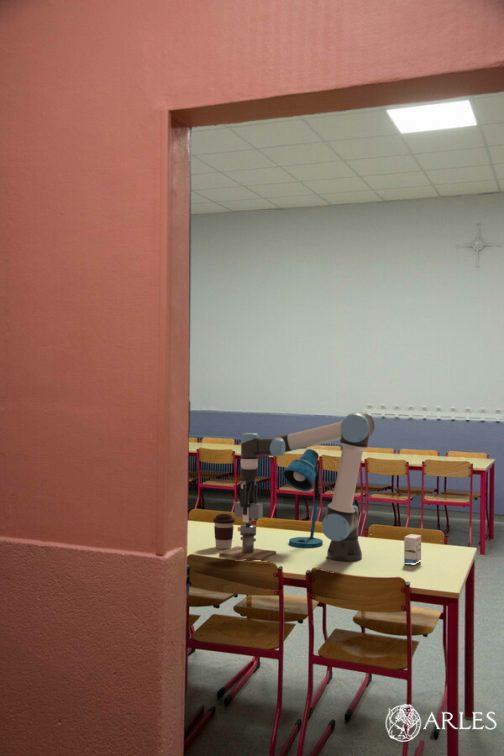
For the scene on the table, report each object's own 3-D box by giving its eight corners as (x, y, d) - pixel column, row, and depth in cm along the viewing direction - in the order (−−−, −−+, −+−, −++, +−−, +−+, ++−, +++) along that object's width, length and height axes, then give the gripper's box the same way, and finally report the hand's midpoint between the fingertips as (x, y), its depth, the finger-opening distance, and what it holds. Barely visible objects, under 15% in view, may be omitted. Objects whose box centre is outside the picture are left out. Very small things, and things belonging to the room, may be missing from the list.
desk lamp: (275, 545, 348) (276, 449, 349) (303, 538, 365) (304, 447, 365) (302, 551, 338) (304, 452, 338) (330, 543, 355) (331, 449, 355)
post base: (276, 554, 330) (276, 534, 330) (259, 562, 316) (260, 541, 316) (236, 549, 340) (237, 529, 340) (219, 556, 325) (219, 536, 326)
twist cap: (263, 534, 328) (264, 503, 328) (256, 537, 322) (257, 505, 322) (240, 531, 334) (240, 501, 334) (232, 534, 328) (232, 503, 328)
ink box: (414, 566, 313) (415, 538, 313) (403, 564, 315) (403, 536, 316) (421, 562, 320) (421, 534, 320) (410, 560, 323) (410, 533, 323)
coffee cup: (231, 550, 337) (232, 517, 337) (210, 549, 339) (210, 516, 339) (236, 545, 347) (236, 513, 347) (215, 544, 349) (216, 512, 349)
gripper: (250, 465, 337) (250, 517, 337) (232, 469, 322) (231, 523, 322) (265, 466, 334) (264, 519, 334) (247, 470, 319) (246, 525, 319)
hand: (248, 521), depth 328 cm, fingers open, 4 cm apart
